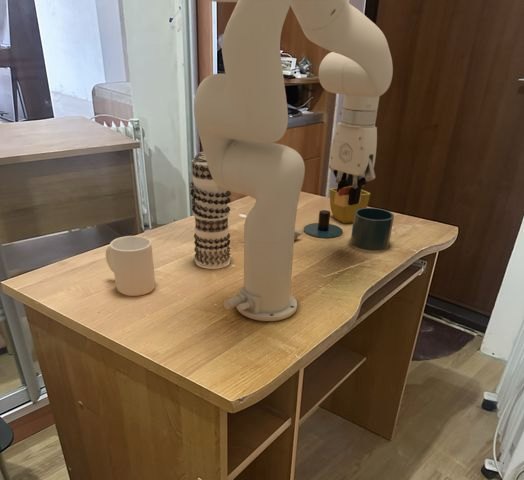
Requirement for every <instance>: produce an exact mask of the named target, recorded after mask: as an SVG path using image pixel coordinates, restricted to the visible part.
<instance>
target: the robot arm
mask: <svg viewBox="0 0 524 480" xmlns="http://www.w3.org/2000/svg"><path fill="white" fill-rule="evenodd" d="M209 1H210V2H214V3H215V2H216V3H236V4H235V6H234V9H233V11H232V13H231V15H230V17H229V18H228V21H227V24H226V26H225V28H224V32H223V35H222V41H221V54H222V61H223V68H224V73H213V74H210V75H208V76H206V77H205V78H204V79H203V80H202V81H201V82H200V83H199V85H198V86H197V88H196V92H195V96H194V100H193V101H194V104H193V114H194V122H195V126H196V130H197V133H198V136H199V139H200V143H201V147H202V150H203V151H202V152H204V154H205V157H206V161H207V164H208V168H209V171H210V174H211V176H212V178H213V180H214V182H215V183H216V184H217V185H218V186H219V187H220V188H222V189H224V190H227V191H230V193H233V194H238V195H243V196H246V197H250V198H252V199H255V203H254V205H253V206H252V208H251V209H250V210H249V212H248V214H246V217H245V220H244V226H243V240H244V241H243V286H241V287H239V291H238V294H236V295H235V296H234V297H231V298H227V299H224V300H223V305H224V308H225V309H226V310H231V309H233V308H236V310H237V311H238V312H239V313H240V314H241V315H242V316H244V317H245V318H249V319H251V320H255V321H259V322H260V321H261V322H275V321H282V320H286V319H288V318H289V317H291V316H293V315H294V314H295V313H296V311H297V310H298V301H297V298H296V297H294V295H293V294H291V292H292V291H291V289H292V275H293V259H294V247H295V239H294V234H295V230H296V221H297V220H296V219H297V211H298V206H299V200H300V197H301V192H302V189H303V184H304V181H305V174H306V173H305V172H306V165H305V162H304V159H303V157H302V155H301V154H300V153H299V152H298V151H297V150H296V149H294V148H292V147H290V146H287V145H285V144H280V143H276V142H278V141H280V140H281V139H282V138H283V136H284V135H285V134H286V132H287V129H288V125H289V111H288V109H289V108H288V102H287V93H286V87H285V79H284V73H283V72H284V71H283V64H282V56H281V38H282V37H281V36H282V32H283V27H284V24H285V20H286V18H287V15H288V12H289V10H290V8H291V10H292V12H293V14H294V16H295V17H296V20H297V22H298V24H299V26H300V28H301V31H302V32H303V34H304V36H305V37H306V39H307V40H309V41H310V42H312V43H313V44H315V45H317V46H318V47H321V48H322V49H324V50H327V51H330V52H329V53H327V54H326V55H325V56H324V57H323V59H322V60H321V61H320V64H319V68H318V80H319V84H320V85H321V87H322V88H323V89H324V90H325V91H327V92H328V93H332V94H337V95H343V100H342V108H341V109H340V110H339V116H340V117H341V118H340V122H338V123H337V125H336V128H335V130H334V135H333V139H332V143H331V149H330V156H329V165H328V168H329V170H330V171H331V172H332V173H333V175H334V177H335V183H336V184H337V186H336V188H337V192H338V191H339V190H340V189H341V188H343V187H348V186H350V185H349V182H348V178H349V175H352V186H353V187H352V188H350V193H349V202H348V204H349V205H355V204H358V203H359V200H360V194H361V190H362V188H363V187H365V185H366V184H367V183H368V182H371V181H373V180H375V179H376V173H375V169H374V168H375V164H376V157H377V146H378V127H377V126H376V121H377V116H378V109H379V102H380V97H381V96H383V95H384V94H385V93H386V92H388V90H389V88H390V86H391V83H392V79H393V73H394V72H393V71H394V66H393V58H392V55H391V50H390V47H389V43H388V40H387V38H386V36H385V34H384V32H383V31H382V30H381V29H380V27H378V25H376V23H375V22H373V21H372V20H371V19H370V18H369V17H367V15H365V14H364V13H363V12H362V11H360V10H359V9H358V8H356V7H355V6H354V5H352V3H350V2H349V1H348V0H209Z"/></svg>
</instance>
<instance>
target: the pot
mask: <svg viewBox="0 0 524 480" xmlns="http://www.w3.org/2000/svg"><path fill="white" fill-rule="evenodd" d="M394 219H395V215H394V213H392V212H391V211H389V210H387V209H383V208H378V207H367V208H361V209H357V210H356V211H355V213H354V220H353V222H352V229H351V236H350V244H351V245H352V246H354V247H355V248H357V249H361V250H365V251H373V252H376V251H383V250H386V249H388V248H389V245H390V241H391V234H392V230H393V224H394Z"/></svg>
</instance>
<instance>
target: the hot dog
mask: <svg viewBox="0 0 524 480" xmlns="http://www.w3.org/2000/svg"><path fill="white" fill-rule="evenodd" d="M352 187H353V185H348V187H343V188H341V189H340V190H339V191H338V192H337V193H335V200H334V204H336V205H339V206H342V207H347V206H351V205H349V204H348V202H349V193H350V188H352ZM361 194H362V193H361ZM361 194H360V200H361ZM360 200H359V203H358V204H360Z"/></svg>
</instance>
